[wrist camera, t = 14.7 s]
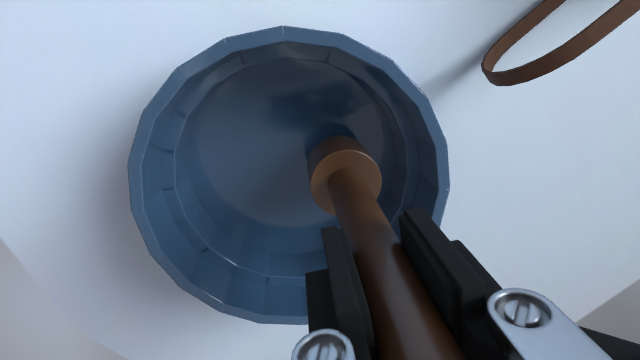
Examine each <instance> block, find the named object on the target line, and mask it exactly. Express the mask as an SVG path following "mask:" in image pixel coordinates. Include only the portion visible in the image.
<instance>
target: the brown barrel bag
mask: <svg viewBox="0 0 640 360" xmlns="http://www.w3.org/2000/svg"><path fill="white" fill-rule="evenodd" d="M565 1H566V0H544V1H543V2H542V3H541V4H539V5H538V6H537V7H536V8H535V9H533V10H532V11H531V12H530V13H529V14H528V15H526V16H525V17H524V18H523V19H522V20H520V21H519V22H518V23H517V24H516V25H515V26H513V27H512V28H511V29H510V30H509V31H508V32H506V33H505V34H504V35H503V36H502V37H501V38H500V39H499V40H498V41H497V42H496V43H495V44H494V45H493V46H492V47H491V48H490V50H489V51H488V52H487V53H486V55H485V56H484V58H483V61H482V63H481V68H482V71H483V73H484V74H485V76H486V77H487V79H488V80H489V82H490V83H492V84H494V85H496V86H512V85H516V84H520V83H524V82H528V81H530V80H533V79H535V78H538V77H540V76H543V75H545V74H547V73H550V72H552V71H554V70H555V69H557V68H559V67H561V66H563V65H564V64H566V63H568V62H570V61H572V60H574V59H575V58H576V57H578V56H579V55H581V54H582V53H583V52H585V51H586V50H588V49H589V48H590V47H592V46H593V45H595V44H596V43H597V42H599V41H600V40H601V39H602V38H604V37H605V36H606V35H608V34H609V33H610V32H612V31H613V30H614V29H615V28H617V27H618V26H619V25H621V24H622V23H623V22H624V21H626V20H627V19H628V18H630V17H631V16H632V15H633V14H635V13H636V12H637V11H639V10H640V0H620V1H619V2H618V3H617V4H615V5H614V6H613V7H612V8H610V9H609V10H608V11H607V12H605V13H604V14H603V15H601V16H600V17H599V18H598V19H596V20H595V21H594V22H593V23H591V24H590V25H589V26H588V27H586V28H585V29H584V30H582V31H581V32H580V33H578V34H577V35H576V36H574V37H573V38H571V39H570V40H569V41H567V42H566V43H565V44H563V45H561V46H560V47H558V48H556V49H554V50H553V51H551V52H549V53H548V54H546V55H544V56H542V57H540V58H538V59H536V60H534V61H532V62H529V63H527V64H525V65H523V66H520V67H517V68H513V69H510V70H506V71H500V72H492V70H493V68H494V65H495V64H496V63H497V61H498V60H499V59H500V57H501V56H502V55H503V54H504V53H505V52H506V51H507V50H508V49H509V48H510V47H511V46H512V45H514V44H515V43H516V42H517V41H518V40H519V39H521V38H522V37H523V36H524V35H525V34H527V33H528V32H529V31H530V30H531V29H533V28H534V27H535V26H536V25H537V24H539V23H540V22H541V21H542V20H543V19H545V18H546V17H547V16H548V15H549V14H550V13H552V12H553V11H554V10H555V9H556V8H558V7H559V6H560V5H561V4H562V3H564V2H565Z"/></svg>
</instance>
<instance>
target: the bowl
mask: <svg viewBox="0 0 640 360" xmlns="http://www.w3.org/2000/svg"><path fill="white" fill-rule="evenodd" d="M337 135H342V136H348V137H351V138H354V139H355V140H357V141H358V142H360V143H361V144H362V145H363V147H364V148H365V149H366V150H367V152H368V153H369V154H370V156H371V157H372V158H373V160H374V161H375V162H376V164H377V165H378V167H379V169H380V172H381V177H382V185H381V190H380V193H379V195H378V197H377V199H376V201H377V202H378V204H379V206H380V208H381V209H382V211H383V213H384V215H385V216H386V218H387V220H388V222H389V223H390V225H391V227H392V229H393V230H394V232H395V234H396V236H397V237H398V239H399V241H400V243H401V235H400V227H399V219H398V217H399V216H401V215H403V212H404V210H408V209H412V208H417V207H422V208H423V209H424V210H425V211H426V213H427V214H428V215H429V216H430V218H431V219H432V220H433V221H434V222H435V224H436V225H437V226H438V227H439V228H440V225H441V221H442V217H443V213H444V210H445V206H446V202H447V198H448V194H449V191H450V180H449V165H448V150H447V143H446V139H445V137H444V135H443V132H442V130H441V128H440V125H439V123H438V121H437V118H436V116H435V114H434V111H433V109H432V107H431V104H430V102H429V100H428V98H427V96H426V95H425V94H424V93H423V92H422V91H421V90H420V89H419V88H418V87H417V86H416V85H415V83H414V82H413V81H412V80H411V79H410V78H409V77H408V76H407V75H406V74H405V73H404V72H403V71H402V70H401V69H400V67H399V66H398V65H397V64H396V63H395V62H394V61H393V60H391V58H389V57H387V56H385V55H383V54H381V53H379V52H377V51H375V50H373V49H371V48H369V47H367V46H365V45H363V44H361V43H359V42H358V41H356V40H354V39H352V38H350V37H348V36H346V35H344V34H340V33H336V32H328V31H321V30H313V29H306V28H298V27H291V26H278V27H273V28H269V29H264V30H259V31H254V32H250V33H245V34H240V35H236V36H231V37H226V38H225V39H222V40H220V41H219V42H217V43H216V44H214V45H212V46H211V47H209V48H208V49H206V50H204V51H203V52H201V53H200V54H198V55H196V56H195V57H193V58H192V59H190V60H188V61H187V62H185V63H184V64H182V65H180V66H179V67H177V68H176V69H175V70H174V71H173V72H172V74H171V75H170V76H169V78H168V79H167V80H166V82H165V83H164V84H163V86H162V87H161V88H160V89H159V91H158V92H157V93H156V95H155V96H154V97H153V99H152V100H151V101H150V102H149V104H148V105H147V106H146V108H145V109H144V110H143V113H142V114H141V118H140V121H139V124H138V128H137V131H136V134H135V138H134V141H133V145H132V148H131V151H130V155H129V158H128V177H129V190H130V204H131V210H132V211H131V212H132V214H133V217H134V219H135V221H136V223H137V226H138V228H139V230H140V233H141V235H142V237H143V239H144V242H145V244H146V246H147V248H148V251H149V253H150V255H151V256H152V257H153V258H154V259H155V260H156V261H157V263H158V264H159V265H160V266H161V267H162V268H163V269H164V270H165V271H166V273H167V274H168V275H169V276H170V277H171V278H172V279H173V280H174V281H175V283H176V284H177V285H178V286H179V287H181V288H182V289H183V290H185V291H186V292H188V293H190V294H191V295H193V296H195V297H196V298H198V299H199V300H201V301H203V302H204V303H206V304H208V305H209V306H211V307H212V308H214V309H216V310H217V311H218V310H219V312H222V313H226V314H229V315H232V316H236V317H239V318H243V319H246V320H250V321H253V322H256V323H262V324H290V325H303V324H304V325H306V324H308V311H307V297H306V283H305V273H308V272H312V271H317V270H322V269H326V268H328V267H327V262H326V256H325V250H324V245H323V239H322V233H321V228H325V227H330V226H334V225H337V227H338V229H340V227H339V224H338V220H337V217H336V216H334V215H331V214H329V213H327V212H325V211H323V210H322V209H321V208H320V207H319V206H318V205H317V204H316V203H315V201H314V199H313V197H312V194H311V190H310V184H309V177H308V170H307V163H308V158H309V155H310V153H311V151H312V150H313V148H314V147H315V146H316V145H317V144H318V143H319V142H321V141H322V140H324V139H326V138H328V137H331V136H337ZM401 244H402V243H401Z"/></svg>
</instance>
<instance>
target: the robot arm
mask: <svg viewBox="0 0 640 360" xmlns="http://www.w3.org/2000/svg"><path fill="white" fill-rule="evenodd" d="M398 219H399V227H400V235H401V243H402V246H403V248H404V250H405V251H406V253H407V255H408V257H409V258H410V260H411V262H412V264H413V265H414V267H415V269H416V271H417V272H418V274H419V276H420V278H421V279H422V281H423V283H424V285H425V286H426V288H427V290H428V292H429V293H430V295H431V297H432V299H433V300H434V302H435V304H436V306H437V307H438V309H439V311H440V313H441V314H442V316H443V318H444V320H445V321H446V323H447V325H448V327H449V328H450V330H451V332H452V334H453V335H454V337H455V339H456V341H457V342H458V344H459V346H460V348H461V349H462V351H463V353H464V355H465V356H466V358H467V360H640V345H639V344H636V343H633V342H630V341H627V340H623V339H620V338H616V337H613V336H610V335H607V334H603V333H600V332H596V331H593V330H590V329H587V328H583V327H580V326H577V325H576V324H575V323H574V322H573V321H572V320H571V319H570V318H569V317H567V316H566V315H565V314H564V313H563V312H562V311H561V310H560V309H559V308H558V307H557V306H556V305H555V304H554V303H553V302H552V301H550V300H549V299H547V298H546V297H545V296H543V295H541V294H539V293H536V292H534V291H530V290H527V289H521V288H508V289H502V288H501V287H500V285H499V284H498V283H497V282H496V281H495V280H494V279H493V278H492V276H491V275H490V274H489V273H488V272H487V271H486V270H485V268H484V267H483V266H482V265H481V264H480V263H479V262H478V261H477V259H476V258H475V257H474V256H473V255H472V254H471V253H470V251H469V250H468V249H467V248H466V247H465V246H464V245H463V244H462V243H461V242H460V241H459V240H454V241H450V240H449V239H448V238H447V237H446V236H445V234H444V233H443V232H442V231H441V230H440V228H439V227H438V226H437V225H436V224H435V222H434V221H433V220H432V219H431V218H430V216H429V215H428V214H427V213H426V211H425V210H424V209H423V208H422V207H417V208H412V209H408V210H404V212H403V215H401V216H399V217H398ZM321 233H322V239H323V245H324V250H325V256H326V262H327V267H328V268H326V269H322V270H317V271H312V272H308V273H305V283H306V297H307V311H308V325H309V334H307V335H306V336H304V337H303V338H302V339H301V340H300V341H299V342H298V343H297V344H296V346H295V348H294V349H293V351H292V356H291V360H377V348H376V343H375V337H374V332H373V326H372V321H371V316H370V312H369V307H368V304H367V300H366V297H365V294H364V290H363V287H362V284H361V281H360V277H359V274H358V271H357V268H356V264H355V261H354V258H353V254H352V251H351V248H350V245H349V241H348V238H347V235H346V232H345V229H344V228H341V229H338V227H337V225H334V226H330V227H325V228H321Z"/></svg>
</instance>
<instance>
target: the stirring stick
mask: <svg viewBox="0 0 640 360" xmlns="http://www.w3.org/2000/svg"><path fill="white" fill-rule="evenodd" d="M307 170H308V177H309V184H310V190H311V194H312V197H313V199H314V201H315V203H316V204H317V205H318V206H319V207H320V208H321V209H322V210H323V211H325V212H327V213H329V214H331V215H334V216H336V217H337V220H338V224H339V227H340V229H341V228H344V229H345V232H346V235H347V238H348V241H349V245H350V248H351V251H352V254H353V258H354V261H355V264H356V268H357V271H358V274H359V277H360V281H361V284H362V287H363V290H364V294H365V297H366V300H367V304H368V307H369V312H370V316H371V321H372V326H373V332H374V337H375V343H376V348H377V360H467V358H466V356H465V355H464V353H463V351H462V349H461V348H460V346H459V344H458V342H457V341H456V339H455V337H454V335H453V334H452V332H451V330H450V328H449V327H448V325H447V323H446V321H445V320H444V318H443V316H442V314H441V313H440V311H439V309H438V307H437V306H436V304H435V302H434V300H433V299H432V297H431V295H430V293H429V292H428V290H427V288H426V286H425V285H424V283H423V281H422V279H421V278H420V276H419V274H418V272H417V271H416V269H415V267H414V265H413V264H412V262H411V260H410V258H409V257H408V255H407V253H406V251H405V250H404V248H403V246H402V244H401V243H400V241H399V239H398V237H397V236H396V234H395V232H394V230H393V229H392V227H391V225H390V223H389V222H388V220H387V218H386V216H385V215H384V213H383V211H382V209H381V208H380V206H379V204H378V202H377V201H376V199H377V197H378V195H379V193H380V190H381V185H382V177H381V172H380V169H379V167H378V165H377V164H376V162H375V161H374V160H373V158H372V157H371V156H370V154H369V153H368V152H367V150H366V149H365V148H364V147H363V145H362V144H361V143H360V142H358V141H357V140H355V139H354V138H351V137H348V136H342V135H337V136H331V137H328V138H326V139H324V140H322V141H321V142H319V143H318V144H317V145H316V146H315V147H314V148H313V150H312V151H311V153H310V155H309V158H308V163H307Z"/></svg>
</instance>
